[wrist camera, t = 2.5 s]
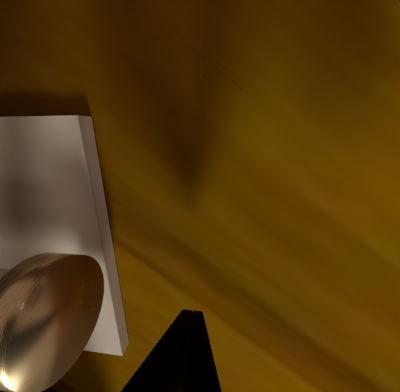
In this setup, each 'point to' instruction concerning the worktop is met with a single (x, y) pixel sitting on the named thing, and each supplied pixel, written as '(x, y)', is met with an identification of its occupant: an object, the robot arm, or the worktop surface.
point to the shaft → (46, 318)
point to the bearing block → (59, 207)
